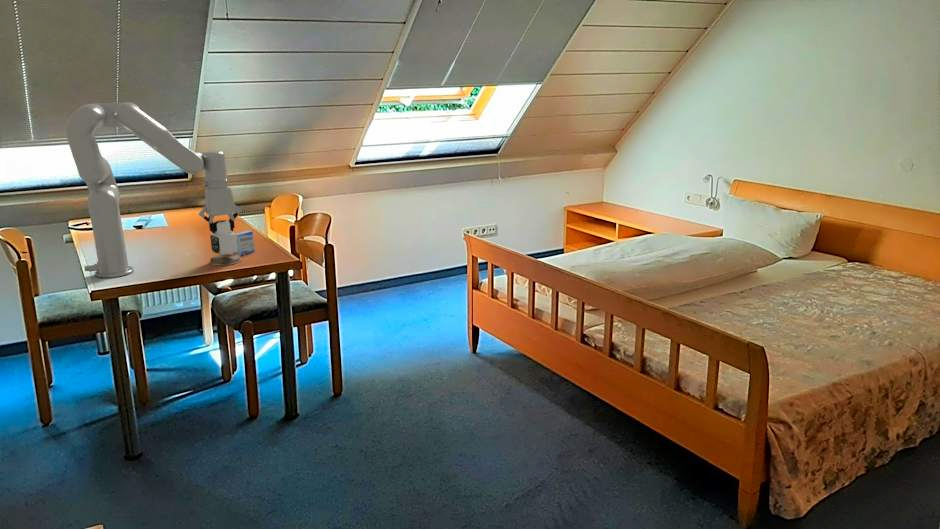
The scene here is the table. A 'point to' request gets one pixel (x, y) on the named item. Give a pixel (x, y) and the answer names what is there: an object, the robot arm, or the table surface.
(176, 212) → the table surface
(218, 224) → the medicine bottle
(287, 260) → the table surface
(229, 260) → the grey flat disc
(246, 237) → the medicine box
